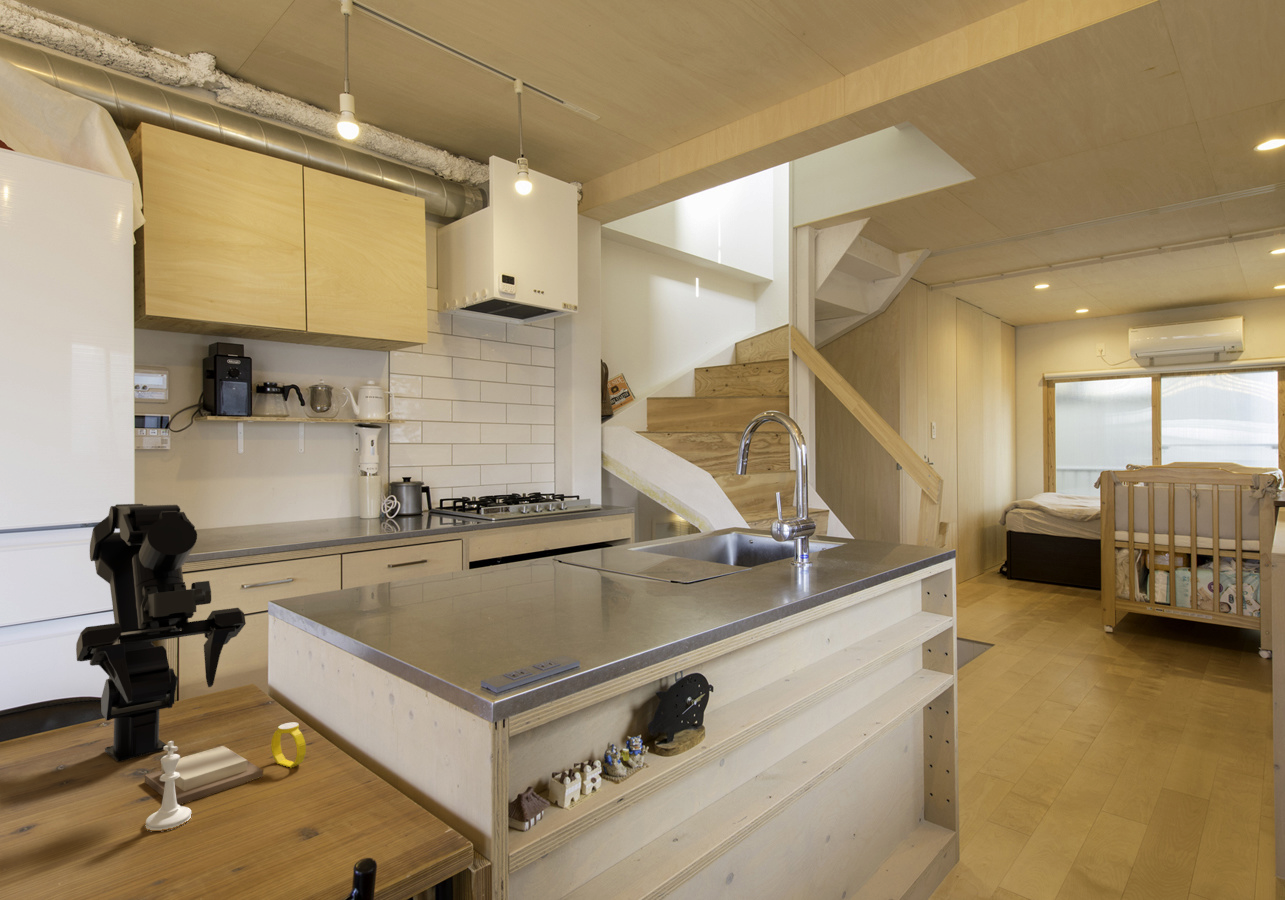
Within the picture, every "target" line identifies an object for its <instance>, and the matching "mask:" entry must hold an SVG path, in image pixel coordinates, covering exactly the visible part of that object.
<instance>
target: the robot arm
mask: <svg viewBox="0 0 1285 900" xmlns="http://www.w3.org/2000/svg"><path fill="white" fill-rule="evenodd" d="M195 528H196V527H195V525H194V524H193V523H192V522H191V521H190V519H189V518H188V516H187V515H186V512H184V511H181V508H180V506H179V505H178V504H158V505H157V504H155V505H154V504H153V505H147V504H145V505H144V504H143V503H126V504H125V503H124V504H123V503H121V504H119V503H117V504H115V505H111V506H110V507H109V512H108V515H107V516H106V517H105V518H104V519H103V520H101V521H100V522H99V523H98V524H96V525H95V526H94V527H93V528H92V533H91V538H90V541H89V561H91V562H94V566H95V572H96V575H97V576H99V578H101V579H103V580H104V581H105V582H106V583H107V584H108V585H109V587H110V595H111V605H112V612H113V620H114V623H108V624H100V625H92V626H86V627H84V629H83V630H81V632H80V634H79V636H78V639H77V641H76V645H75V646H76V647H75V649H76V650H75V651H76V654H75V655H76V661H77V662H86V661H87V662H88V661H89V665H90V666H91V667H92V666H94V667H95V666H99V667H100V669H102V670H103V672H105V673H106V674H107V675H108V678H107V679H106V680H105V682H104V687H103V691H102V694H101V698H100V705H101V710H100V711H101V714H102V716H103V718H104V720H105V721H106V722H107V721H111V720H113V745H110V746H106V747H105V748H104V752H105V753H106V754H107V755H108V756H110V757H111V758H113V759H114V760H115V761H116V762H118V763H119V762H124V761H127V760H132V759H134V758H138V757H142V756H145V755H150V754H152V753H153V754H154V753H157V752H160V751H164V750H163V747H164V746H166V745H168V743H165V742H164V741H162V740H160V710H164V709H172V708H173V705H174V704H175V701H176V700H175V698H176V697H175V695H176V689H177V687H178V683H179V682H178V681H179V677H178V676H177V675H176V672H175V670H174V668H173V667H170V664H169V659H168V655H167V650H166V648H165V647H164V645H158V646H156V645H155V644H153V642H156V641H162V640H163V641H164V640H170V639H177V638H184V637H190V636H196V635H204V638H206V641H205V642H204V644H203V654H204V655H203V656H204V670H205V680H206V685H207V687H208V688H212V687H213V685H214V683H215V678H216V675H217V669H218V664H219V661H220V657H221V653H222V650H223V648H224V645H227V644H228V643H229V642H230V640H231V639H233V638H235V637H237V636H238V634H240V632H241V630H243V628H244V627H245V626H246V624H247V623H246V616H245V612H243V610H242V609H241V608H240V607H234V608H233V607H232V608H226V609H225V608H224V609H223V608H222V609H216V610H212V611H211V612H210V614H209V615H208V617H206V619H201V620H194V621H189V619H192V618H193V617H194V614H195V613H197V606H201V605H208V604H211V603H212V589H211V584H210V580H204V581H196V582H192V583H191V586H190V587H191V588H190V589H189V588H188V589H187V585H186V582H185V581H184V575H183V567H182V566H184V565H185V563H186V562H187V560H188V558H189V556H190V554H191V552H192V551H193V549H194V546H195V545H196V543H197V539H198V532H197V530H196V529H195ZM115 530H119V532H118V531H117V532H116V531H115ZM107 675H106V676H107Z"/></svg>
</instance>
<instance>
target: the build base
mask: <svg viewBox="0 0 1285 900" xmlns="http://www.w3.org/2000/svg"><path fill="white" fill-rule="evenodd" d="M160 767H161V770H157V771H153V772H151V773H147V774H144V783H145V784H147V785H148V786H149V787H150V788H151V789H153V790H154V791H155V792H157V793H158V794H159V795H160V796H162V797H163V794H164V787H165V781H160V777H161V776H162V775H163V774H165V771H164V769H163V765H162V763H161V766H160ZM175 772H179V774H180V777H178V778H177V779H175V780H174V782H175V792H176V800H177V804H179V805H180V804H182V803H185V804H187V803H186V802H188V803H190V802H189V801H191V802H193V801H192V800H194V801H196V800H195V799H197V800H199V798H200V799H202V797H203V798H206V797H208V796H212V795H213V794H217V793H220V792H222V791H223V792H224V791H225V790H228V789H231V788H234V787H238V786H240V784H241V785H244V784H246V783H245V782H247V781H250V780H252V779H256V778H258V777H261V778H263V777H264V770H263V769H262V768H260V767H259V766H257V765H255V764H254V763H252V762H250V761H249V760H248V759H246V758H244V757H243V756H241V755H239V754H237V753H236V752H235V751H233V750H232V749H229V748H228V747H226V746H224V745H221V746H217V747H216V746H215V747H213V748H211V749H207V750H204V751H203V750H202V751H200V752H197V753H194V754H189V755H186V756H183V757H180V758H179V761H178V763H177V767H176V769H175ZM262 776H263V777H262ZM256 780H257V779H256ZM250 782H251V781H250ZM243 783H244V784H243ZM247 783H248V782H247ZM237 785H238V786H237ZM182 805H183V804H182ZM180 806H181V805H180Z"/></svg>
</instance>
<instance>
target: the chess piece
mask: <svg viewBox="0 0 1285 900" xmlns="http://www.w3.org/2000/svg"><path fill="white" fill-rule="evenodd" d="M162 751H167V754H166V755H164V756H162V757H161V758H160V763H161V764H162V765H163V769H164V771H165V774H163V775H162V776H161V777H160V781H165V787H164V794H163V796H162V800H161V807H160V808H159V809H158V810H157V811H156V812H154V813H152V814H150V815H149V816H148V817H147V818H146V819H145V824H146V825H144V827H145V826H146V828H147V829H150V830H162V829H168V828H173V827H176V826H179V825H180V824H183V823H184V822H186V821H188V820H189V819H190V818H191V814H192V810H191V808H189V807H188V806H183V805H179V804H177V800H176V792H175V782H174V780H175V779H177V778H178V777H180V774H179V772H175V769H176V767H177V763H178V761H179V758H181V755H180V754H178V753H174V752H177V751H179V747H178V746H176V745H174V740H170V741H167V745H166V746H164V747H163V750H162ZM191 819H192V818H191Z"/></svg>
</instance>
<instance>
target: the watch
mask: <svg viewBox="0 0 1285 900" xmlns="http://www.w3.org/2000/svg"><path fill="white" fill-rule="evenodd" d="M299 727H300V724H299V722H294V721H293V722H291V721H290V722H286V723H282V724H280V725H278V727H277V729H276V730H275V731H274V733H273V735H272V737H271V742H270V743H271V744H270V749H271V753H272V757H273V760H274V761H275V763H276V764H277V765H278V764H280V765H279V766H282V765H283V767H285V766H286V768H288V767H290V768H289V769H293V768H295V767H294V766H296V767H298V766H300V764H302V762H304V760H305V756H306V755H307V754H306V753H307V752H306V751H307V749H306V748H307V744H306V740H305V737H304V735H303V733H302V732H301V730H300V728H299ZM283 734H290V736H291V737H292V738H293V740H294V743H295V746H296V757H295V760H294V761H292V760H290V759H289V760H288V759H287V758H286V756H285V755H284V753H283V752H282V750H283V749H282V745H281V740H282V735H283ZM297 765H298V766H297ZM292 767H293V768H292Z"/></svg>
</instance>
